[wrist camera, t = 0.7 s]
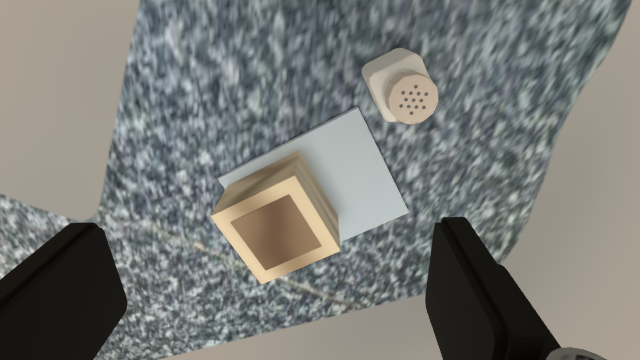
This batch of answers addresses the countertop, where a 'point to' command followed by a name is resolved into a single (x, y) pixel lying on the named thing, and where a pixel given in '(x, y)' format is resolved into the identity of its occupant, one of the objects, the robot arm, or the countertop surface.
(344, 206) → the pale grey rectangular plate
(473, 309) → the robot arm
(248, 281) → the countertop surface
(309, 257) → the plinth
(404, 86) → the pepper shaker
